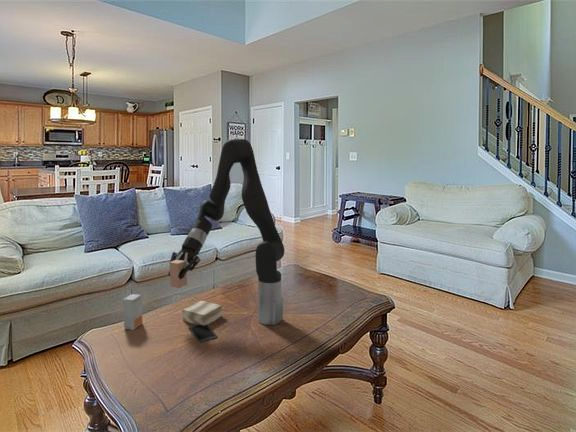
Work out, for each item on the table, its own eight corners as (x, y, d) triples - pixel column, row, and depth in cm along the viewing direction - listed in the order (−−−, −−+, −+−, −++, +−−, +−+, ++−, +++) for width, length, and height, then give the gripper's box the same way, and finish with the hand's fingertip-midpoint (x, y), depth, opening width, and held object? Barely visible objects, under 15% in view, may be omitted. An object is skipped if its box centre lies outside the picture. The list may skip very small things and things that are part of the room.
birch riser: (221, 316, 157) (221, 305, 156) (204, 327, 147) (203, 315, 147) (201, 311, 162) (200, 300, 161) (183, 321, 153) (182, 309, 152)
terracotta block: (187, 284, 152) (186, 260, 151) (179, 288, 148) (177, 263, 147) (178, 283, 154) (177, 259, 153) (170, 286, 150) (169, 262, 149)
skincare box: (134, 330, 144) (132, 300, 142) (124, 329, 144) (122, 299, 143) (143, 323, 149) (141, 294, 148) (133, 322, 150) (131, 293, 148)
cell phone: (199, 344, 135) (199, 342, 135) (187, 328, 146) (187, 326, 146) (218, 338, 138) (218, 336, 138) (205, 324, 150) (205, 322, 150)
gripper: (177, 234, 158) (156, 269, 150) (203, 238, 152) (183, 275, 143) (186, 244, 164) (167, 279, 155) (212, 248, 157) (193, 284, 148)
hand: (175, 277), depth 149 cm, fingers closed on terracotta block, 4 cm apart
